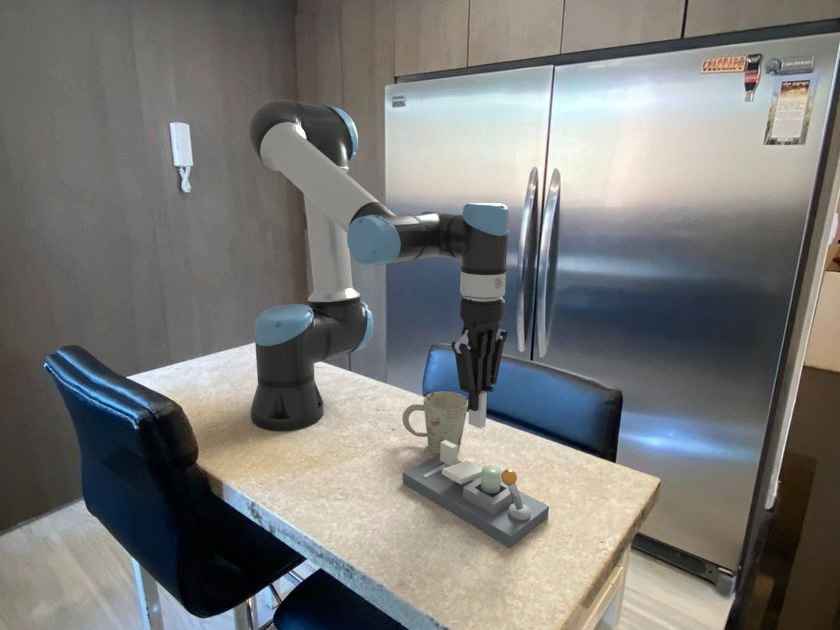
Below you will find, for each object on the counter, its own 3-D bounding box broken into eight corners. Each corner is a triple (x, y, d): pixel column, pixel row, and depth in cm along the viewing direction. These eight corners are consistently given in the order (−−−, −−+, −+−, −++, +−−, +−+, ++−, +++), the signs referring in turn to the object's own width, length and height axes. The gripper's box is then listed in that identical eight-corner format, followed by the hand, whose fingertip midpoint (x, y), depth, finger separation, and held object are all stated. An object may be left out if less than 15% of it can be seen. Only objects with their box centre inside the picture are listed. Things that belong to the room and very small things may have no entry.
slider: (439, 460, 90) (440, 442, 90) (444, 458, 91) (445, 439, 90) (451, 467, 89) (452, 448, 88) (456, 464, 89) (457, 445, 88)
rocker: (441, 473, 83) (442, 468, 83) (466, 465, 88) (467, 460, 88) (460, 484, 81) (461, 478, 80) (485, 475, 85) (486, 470, 85)
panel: (402, 483, 88) (403, 463, 87) (442, 461, 95) (443, 443, 94) (509, 548, 73) (511, 525, 72) (548, 517, 80) (550, 495, 79)
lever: (508, 508, 77) (496, 475, 72) (517, 497, 78) (505, 463, 73) (521, 515, 75) (509, 481, 71) (529, 503, 76) (518, 469, 72)
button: (476, 487, 80) (478, 470, 80) (488, 480, 82) (489, 463, 82) (492, 496, 78) (493, 478, 78) (504, 488, 80) (505, 471, 80)
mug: (462, 462, 95) (465, 411, 92) (396, 453, 97) (397, 404, 95) (467, 440, 103) (470, 393, 100) (406, 433, 105) (407, 387, 103)
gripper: (475, 306, 80) (469, 444, 86) (523, 294, 89) (515, 420, 95) (439, 298, 86) (436, 429, 91) (488, 288, 95) (482, 408, 100)
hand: (476, 424), depth 93 cm, fingers closed
